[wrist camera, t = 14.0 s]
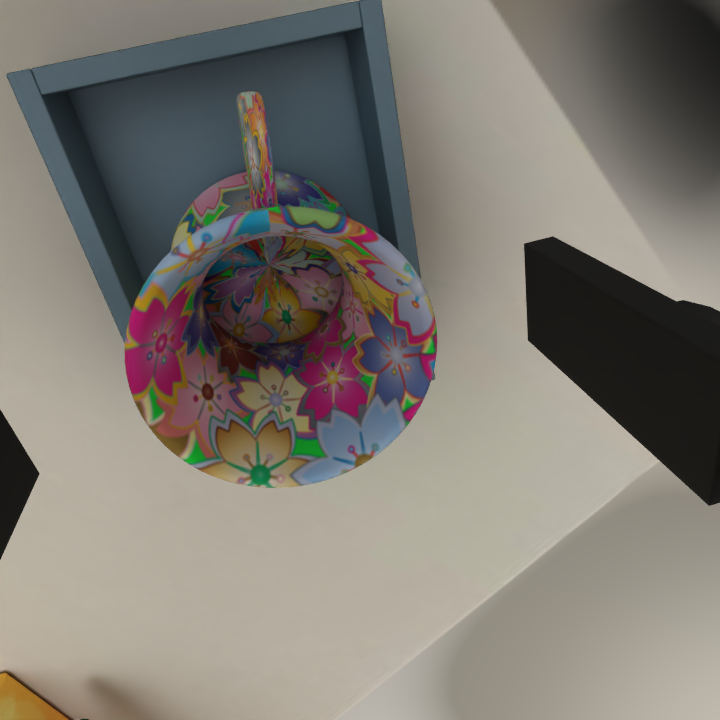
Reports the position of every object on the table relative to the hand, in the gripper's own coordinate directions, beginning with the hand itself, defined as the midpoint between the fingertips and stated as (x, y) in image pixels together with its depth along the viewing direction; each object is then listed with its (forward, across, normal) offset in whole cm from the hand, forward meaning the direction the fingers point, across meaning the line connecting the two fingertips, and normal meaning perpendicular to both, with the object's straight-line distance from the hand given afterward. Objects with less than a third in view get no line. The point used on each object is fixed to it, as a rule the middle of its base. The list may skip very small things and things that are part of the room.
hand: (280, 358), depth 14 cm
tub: (+14, 0, 0) cm, 14 cm away
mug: (+13, 0, 0) cm, 13 cm away
